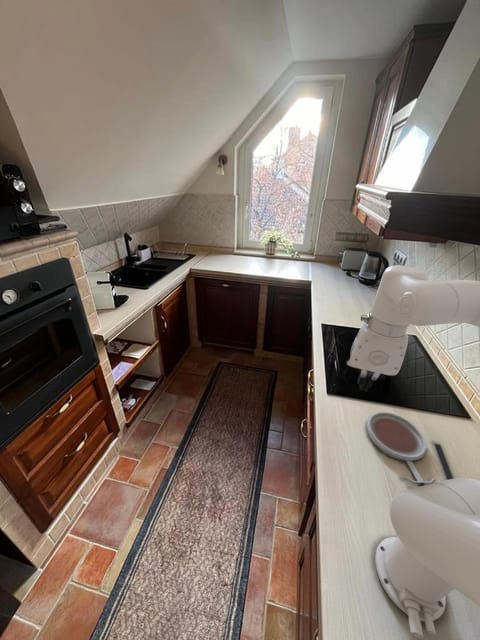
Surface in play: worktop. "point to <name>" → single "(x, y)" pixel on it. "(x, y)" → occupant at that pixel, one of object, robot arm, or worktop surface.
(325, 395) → the worktop surface
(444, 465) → the strip
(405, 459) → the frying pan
